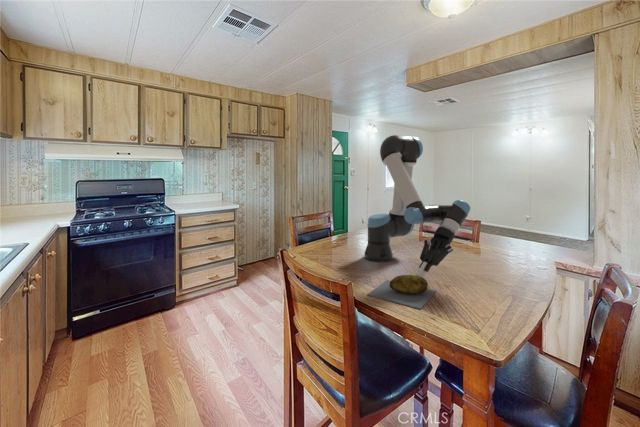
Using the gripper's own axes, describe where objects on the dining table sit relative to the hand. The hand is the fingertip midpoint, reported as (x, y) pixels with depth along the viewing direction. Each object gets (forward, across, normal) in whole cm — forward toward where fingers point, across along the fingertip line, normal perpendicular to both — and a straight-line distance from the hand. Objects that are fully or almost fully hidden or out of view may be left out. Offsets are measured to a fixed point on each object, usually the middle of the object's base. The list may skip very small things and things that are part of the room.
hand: (419, 276), depth 116 cm
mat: (+11, -2, +6) cm, 13 cm away
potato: (+7, 0, +5) cm, 9 cm away
